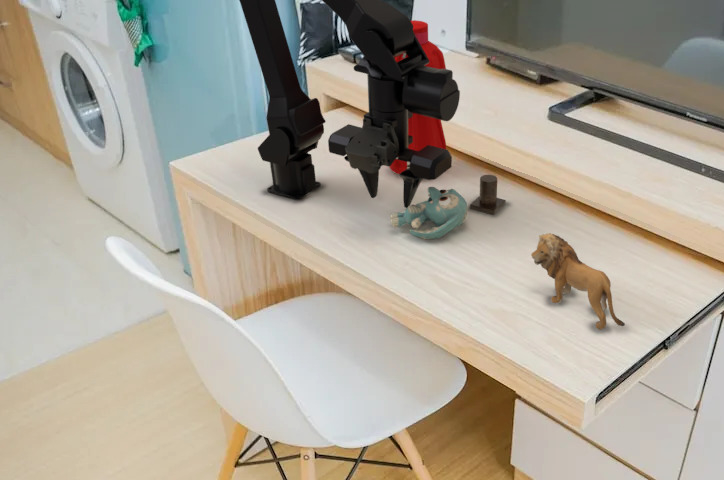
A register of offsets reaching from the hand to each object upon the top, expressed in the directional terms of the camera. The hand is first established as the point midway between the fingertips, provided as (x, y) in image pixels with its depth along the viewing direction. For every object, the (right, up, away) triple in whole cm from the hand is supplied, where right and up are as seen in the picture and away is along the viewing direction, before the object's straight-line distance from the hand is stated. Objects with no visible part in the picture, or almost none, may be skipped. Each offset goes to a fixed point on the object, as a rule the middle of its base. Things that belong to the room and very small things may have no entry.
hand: (390, 202), depth 124 cm
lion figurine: (+27, -17, -18) cm, 36 cm away
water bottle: (+3, +8, +15) cm, 18 cm away
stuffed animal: (+6, -4, -1) cm, 8 cm away
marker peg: (+15, 0, +5) cm, 16 cm away
